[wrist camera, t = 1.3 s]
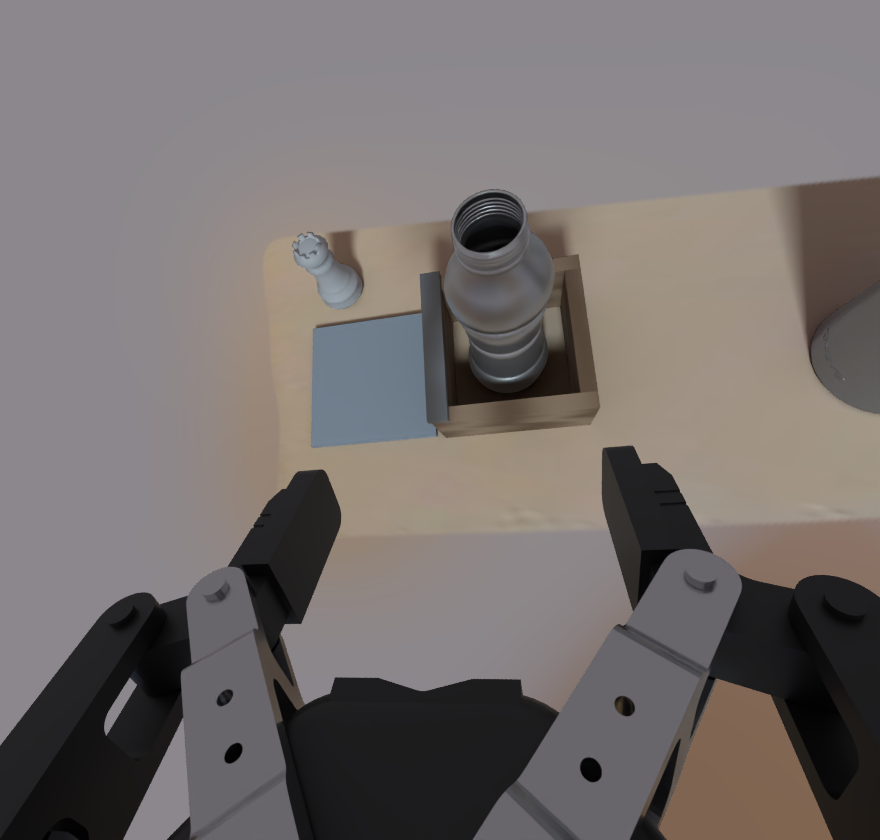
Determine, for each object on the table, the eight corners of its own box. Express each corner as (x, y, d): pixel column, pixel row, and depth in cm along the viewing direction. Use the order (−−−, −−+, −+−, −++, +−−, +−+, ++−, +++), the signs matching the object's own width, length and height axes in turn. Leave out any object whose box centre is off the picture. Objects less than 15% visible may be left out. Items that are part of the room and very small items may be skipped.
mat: (431, 314, 43) (429, 311, 42) (437, 436, 40) (436, 435, 40) (315, 331, 45) (313, 328, 45) (314, 447, 42) (311, 446, 42)
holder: (572, 292, 41) (579, 248, 34) (590, 424, 38) (601, 404, 31) (437, 311, 43) (419, 274, 36) (444, 438, 40) (426, 421, 34)
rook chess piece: (335, 266, 47) (296, 216, 39) (371, 278, 45) (338, 229, 38) (316, 303, 46) (272, 260, 38) (352, 317, 45) (315, 274, 37)
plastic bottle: (459, 356, 42) (396, 214, 22) (522, 317, 41) (512, 139, 22) (496, 413, 40) (460, 310, 21) (562, 372, 39) (588, 230, 20)
